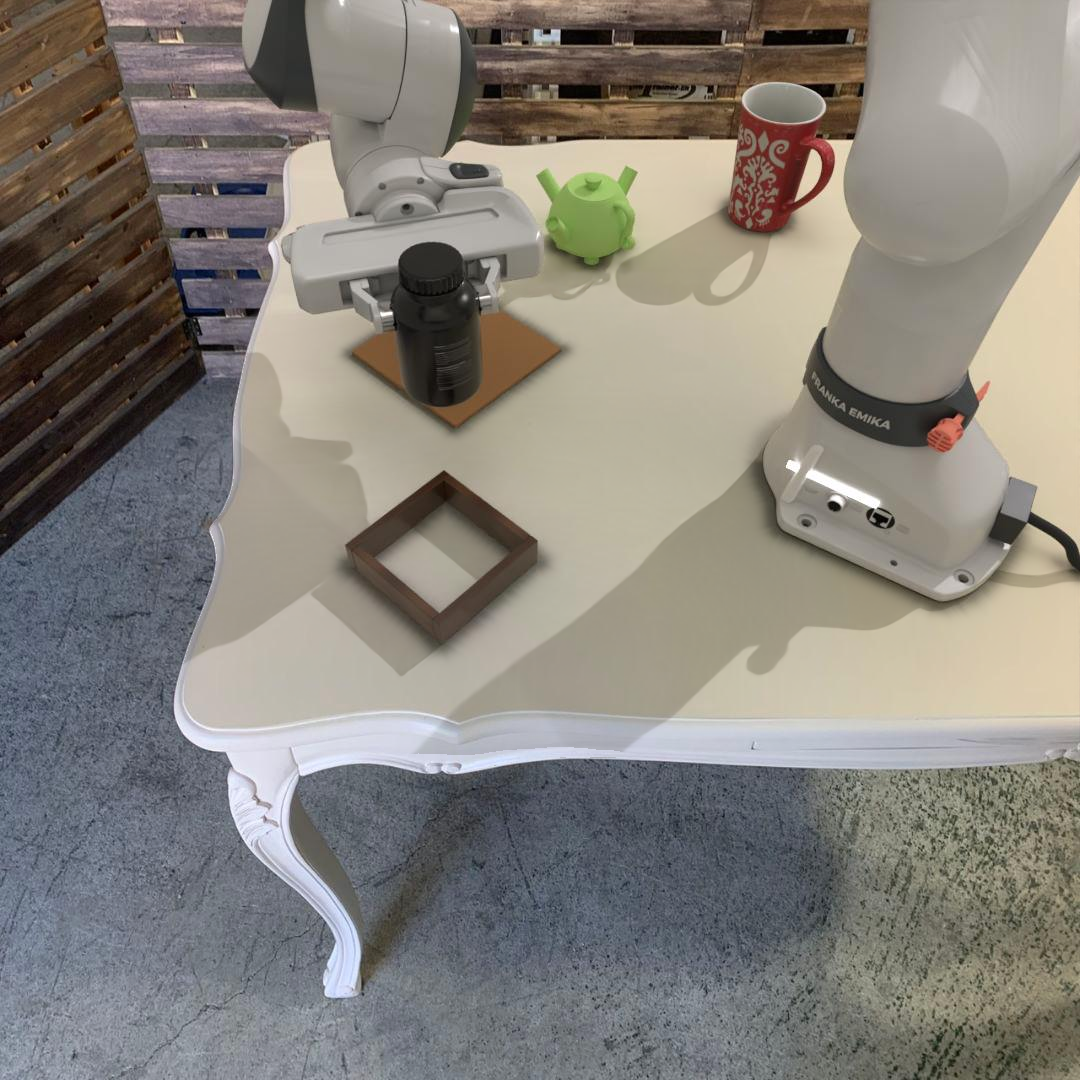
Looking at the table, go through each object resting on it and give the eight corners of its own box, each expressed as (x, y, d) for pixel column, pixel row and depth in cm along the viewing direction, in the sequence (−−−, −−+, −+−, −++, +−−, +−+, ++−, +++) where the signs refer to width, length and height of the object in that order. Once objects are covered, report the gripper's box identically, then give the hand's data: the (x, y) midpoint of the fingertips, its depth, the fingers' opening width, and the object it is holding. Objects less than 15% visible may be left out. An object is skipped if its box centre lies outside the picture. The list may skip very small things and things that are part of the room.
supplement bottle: (488, 357, 77) (484, 236, 67) (477, 414, 73) (472, 294, 63) (408, 350, 77) (394, 228, 67) (393, 407, 73) (375, 286, 63)
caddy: (537, 561, 76) (538, 540, 73) (442, 645, 71) (439, 625, 68) (446, 491, 80) (444, 469, 78) (350, 565, 75) (344, 544, 73)
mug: (703, 206, 107) (724, 94, 96) (760, 184, 110) (787, 73, 99) (774, 262, 101) (805, 149, 90) (833, 237, 104) (869, 124, 93)
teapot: (644, 274, 99) (653, 205, 92) (540, 277, 99) (542, 208, 92) (631, 215, 106) (639, 147, 99) (534, 217, 105) (535, 148, 98)
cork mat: (561, 351, 91) (561, 348, 91) (455, 428, 85) (455, 425, 84) (458, 286, 97) (458, 283, 97) (351, 354, 91) (351, 351, 90)
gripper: (269, 198, 72) (292, 307, 64) (516, 162, 76) (566, 260, 68) (285, 264, 77) (309, 372, 69) (516, 227, 81) (562, 326, 73)
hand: (438, 317), depth 68 cm, fingers closed on supplement bottle, 7 cm apart
